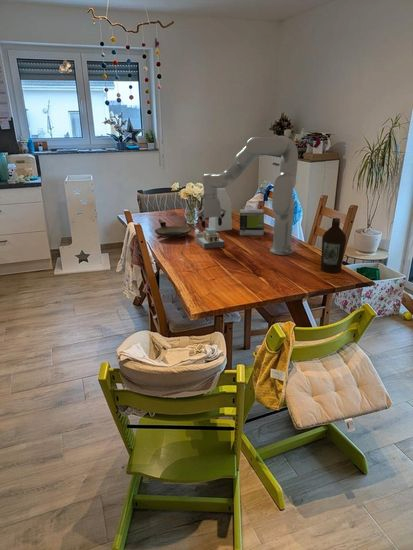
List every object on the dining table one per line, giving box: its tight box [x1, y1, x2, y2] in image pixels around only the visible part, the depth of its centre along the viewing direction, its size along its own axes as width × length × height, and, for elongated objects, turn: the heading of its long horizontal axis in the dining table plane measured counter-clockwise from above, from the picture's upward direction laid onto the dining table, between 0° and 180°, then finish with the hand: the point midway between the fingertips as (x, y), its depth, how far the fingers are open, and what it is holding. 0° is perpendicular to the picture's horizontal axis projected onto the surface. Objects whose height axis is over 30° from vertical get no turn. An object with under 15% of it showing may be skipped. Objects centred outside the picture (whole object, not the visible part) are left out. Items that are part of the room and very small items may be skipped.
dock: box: [196, 232, 225, 249], centre depth 228 cm, size 14×12×5 cm
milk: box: [208, 188, 233, 232], centre depth 257 cm, size 12×12×26 cm
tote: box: [204, 227, 217, 234], centre depth 225 cm, size 6×4×2 cm
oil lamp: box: [154, 218, 192, 239], centre depth 245 cm, size 22×30×8 cm
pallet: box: [202, 230, 220, 242], centre depth 226 cm, size 10×6×4 cm, turn 19°
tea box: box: [239, 208, 265, 236], centre depth 246 cm, size 15×10×15 cm, turn 84°
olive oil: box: [320, 217, 347, 274], centre depth 184 cm, size 11×11×25 cm
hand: (211, 226), depth 224 cm, fingers open, 9 cm apart
